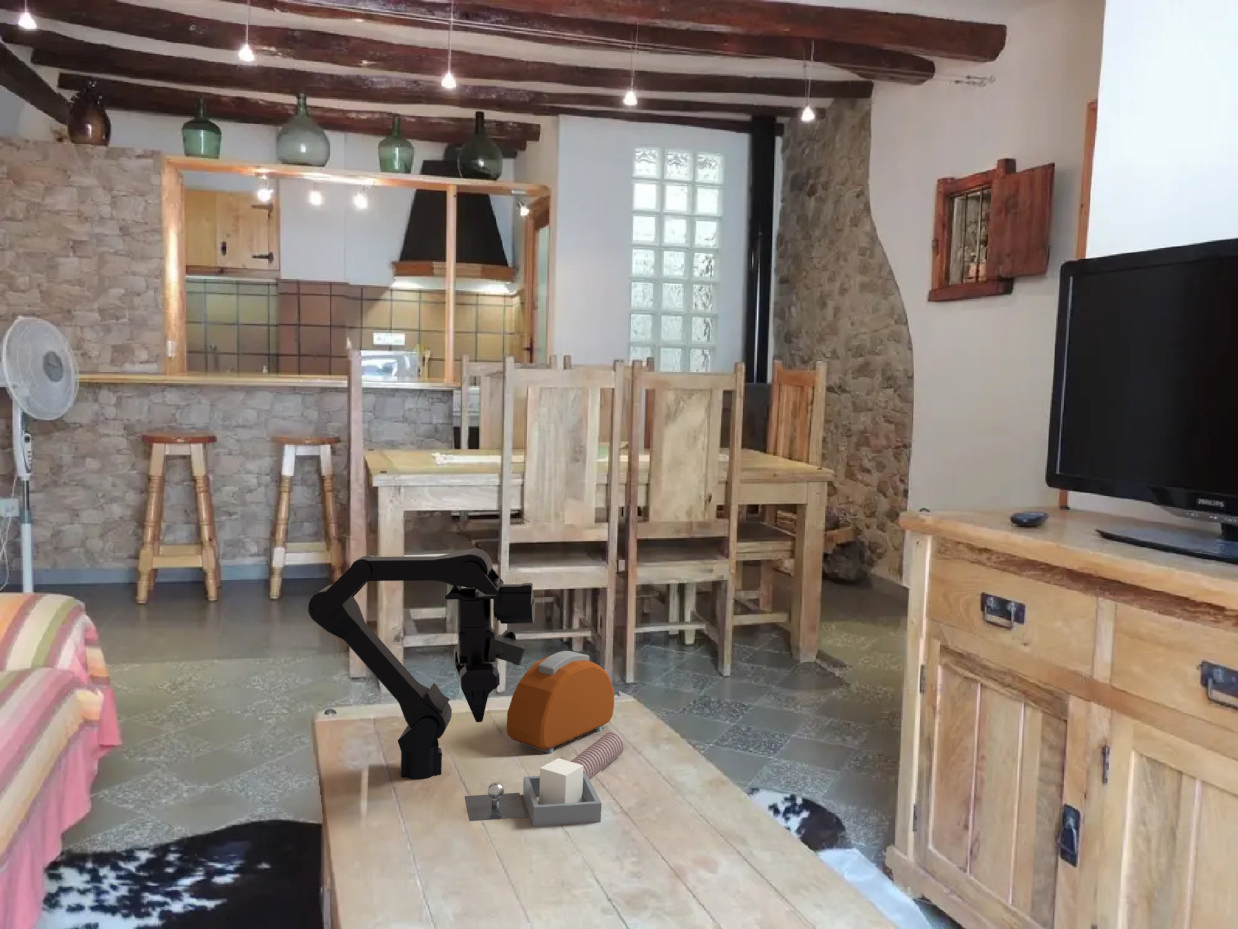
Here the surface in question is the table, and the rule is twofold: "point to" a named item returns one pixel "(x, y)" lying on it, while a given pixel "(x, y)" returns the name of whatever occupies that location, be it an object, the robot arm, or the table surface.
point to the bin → (561, 805)
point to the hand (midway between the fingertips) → (476, 712)
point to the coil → (600, 754)
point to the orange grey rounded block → (559, 701)
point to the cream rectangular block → (561, 782)
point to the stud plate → (495, 805)
